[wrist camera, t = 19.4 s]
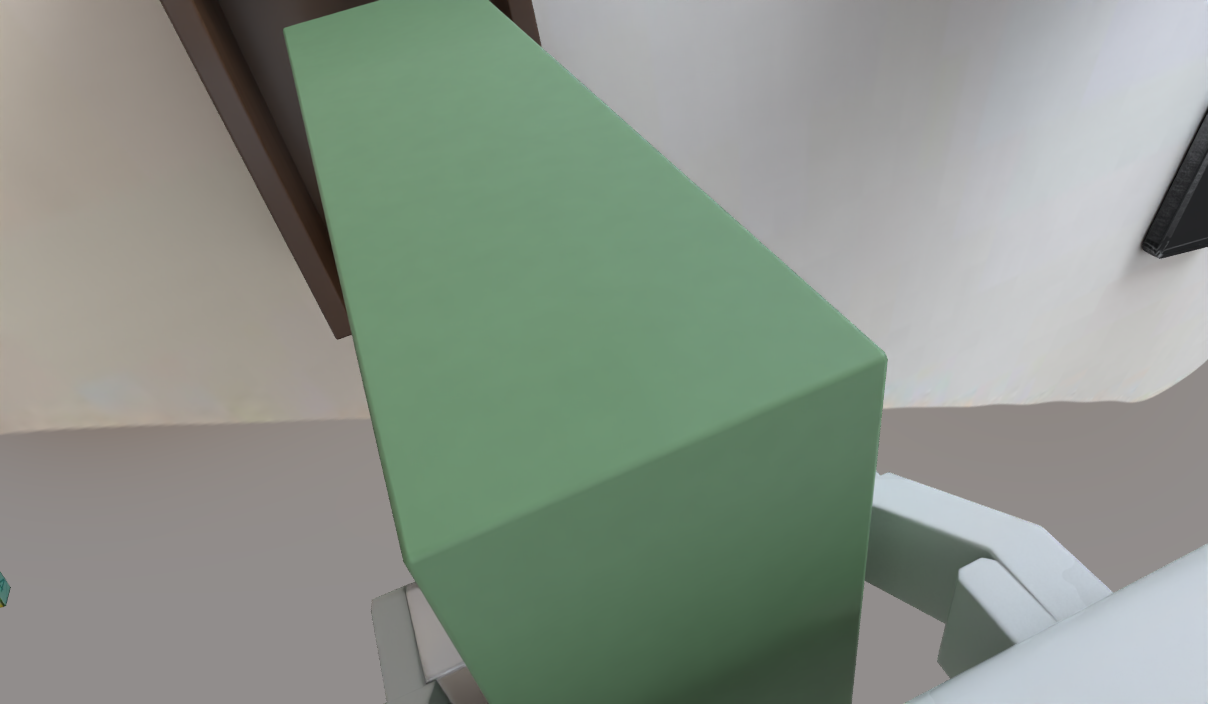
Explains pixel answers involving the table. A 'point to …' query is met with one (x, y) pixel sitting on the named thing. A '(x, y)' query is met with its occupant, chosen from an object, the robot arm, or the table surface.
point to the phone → (1184, 206)
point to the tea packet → (585, 378)
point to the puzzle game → (3, 591)
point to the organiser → (278, 115)
